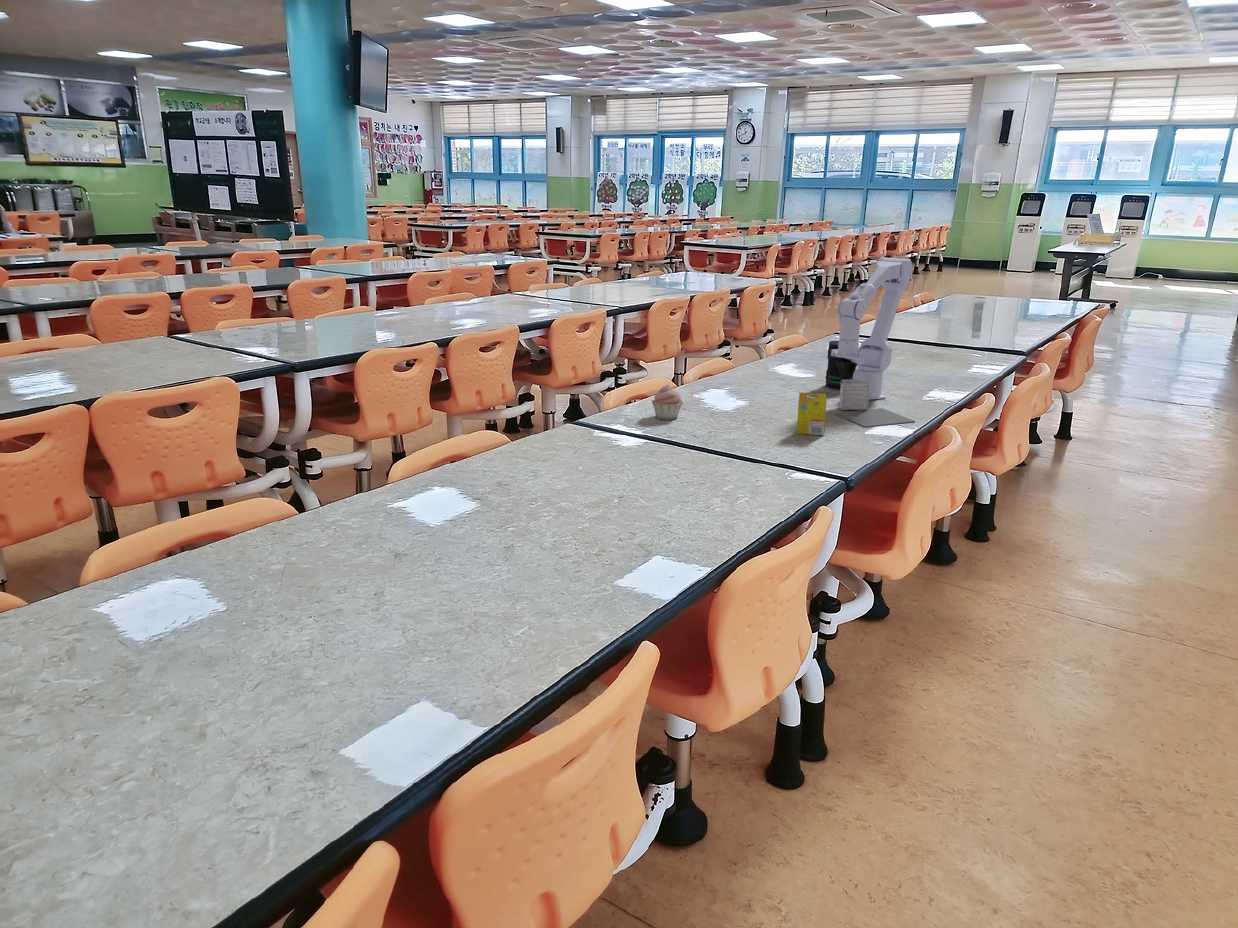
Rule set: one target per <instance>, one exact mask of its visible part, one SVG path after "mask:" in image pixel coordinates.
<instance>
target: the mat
mask: <svg viewBox="0 0 1238 928" xmlns="http://www.w3.org/2000/svg"><path fill="white" fill-rule="evenodd" d="M833 415H835V416H838V417H840V418H843V419H845V420H847V421H848V422H851V423H853V424H856V425H857V426H860V427H863V428H871V427H874V428H875V427H883V426H891V425H893V426H894V425H902V424H908V423H909V424H911V423H916V420H913V419H910V418H908V417H905V416H903V415H901V414H898V413H895V412H893V411H891V410H888V409H885V408H882V407H881V408H880V407H879V408H871V409H869V408H868V410H847V411H841V412H839V411H837V412H833Z"/></svg>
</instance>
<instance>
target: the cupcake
mask: <svg viewBox="0 0 1238 928" xmlns="http://www.w3.org/2000/svg"><path fill="white" fill-rule="evenodd" d="M651 404H652V406H653V409H654V413H655V414H654V415H655V417H656V419H658V420H662V421H672V420H675V419H678V417H679V413H680V410H681V407H682V405H683V404H684V401H683V400H682V397H681V395H680V394H679V393H678V391H677V390H676V389H674V388H673V387H671V386H670V383H667V384H666V385H663V386H662V387H661V388H660V389H659V391H657V392H656V393H655V395H654V399H653V400H651Z"/></svg>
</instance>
